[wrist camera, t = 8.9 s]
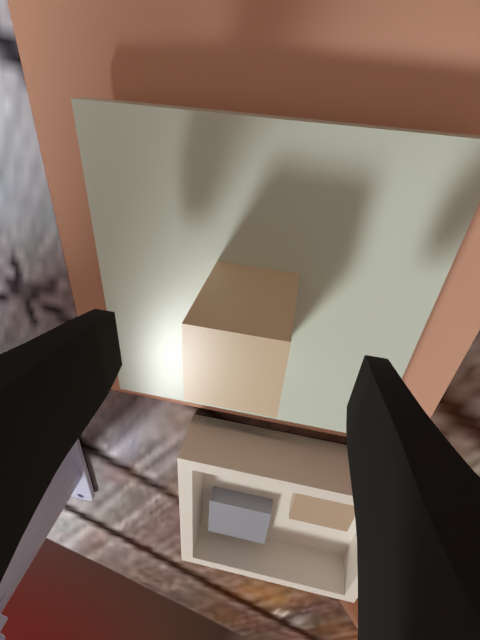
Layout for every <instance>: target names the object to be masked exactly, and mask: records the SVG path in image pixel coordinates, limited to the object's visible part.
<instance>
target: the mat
mask: <svg viewBox="0 0 480 640" xmlns="http://www.w3.org/2000/svg"><path fill="white" fill-rule="evenodd" d="M7 1H8V5H9V10H10V14H11V19H12V23H13V28H14V32H15V37H16V41H17V46H18V50H19V55H20V59H21V64H22V68H23V73H24V77H25V82H26V86H27V91H28V95H29V100H30V104H31V109H32V113H33V118H34V122H35V127H36V131H37V136H38V140H39V145H40V149H41V154H42V158H43V163H44V167H45V172H46V176H47V181H48V185H49V190H50V194H51V199H52V203H53V208H54V212H55V217H56V221H57V226H58V230H59V235H60V239H61V244H62V248H63V253H64V257H65V262H66V266H67V271H68V276H69V280H70V285H71V289H72V294H73V298H74V303H75V307H76V312H77V316H80V315H82V314H84V313H86V312H89V311H91V310H93V309H100V310H106V311H107V309H106V303H105V297H104V291H103V285H102V279H101V274H100V268H99V262H98V256H97V250H96V244H95V238H94V232H93V226H92V220H91V214H90V209H89V203H88V197H87V191H86V185H85V179H84V173H83V167H82V161H81V155H80V150H79V144H78V138H77V132H76V126H75V120H74V114H73V108H72V102H71V98H78V97H92V98H103V99H113V100H123V101H133V102H143V103H153V104H164V105H174V106H184V107H194V108H204V109H214V110H225V111H235V112H245V113H255V114H265V115H275V116H286V117H296V118H306V119H316V120H326V121H337V122H347V123H357V124H367V125H377V126H387V127H398V128H408V129H418V130H428V131H438V132H448V133H459V134H469V135H479V136H480V0H7ZM479 330H480V202H479V205H478V207H477V209H476V211H475V214H474V216H473V218H472V220H471V223H470V225H469V227H468V230H467V232H466V234H465V236H464V239H463V241H462V243H461V245H460V248H459V250H458V252H457V254H456V257H455V259H454V261H453V263H452V266H451V268H450V270H449V273H448V275H447V277H446V279H445V282H444V284H443V286H442V288H441V291H440V293H439V295H438V297H437V300H436V302H435V304H434V307H433V309H432V311H431V313H430V316H429V318H428V320H427V322H426V325H425V327H424V329H423V331H422V334H421V336H420V338H419V340H418V343H417V345H416V347H415V350H414V352H413V354H412V356H411V359H410V361H409V363H408V365H407V368H406V370H405V372H404V374H403V377H402V380H403V381H404V383H405V384H406V386H407V387H408V389H409V390H410V391H411V393H412V394H413V396H414V397H415V399H416V400H417V401H418V403H419V404H420V406H421V407H422V408H423V410H424V411H425V412H426V414H427V415H428V416H429V418H431V416H432V414H433V412H434V411H435V409H436V407H437V405H438V403H439V402H440V400H441V398H442V396H443V394H444V393H445V391H446V389H447V387H448V385H449V384H450V382H451V380H452V378H453V376H454V375H455V373H456V371H457V369H458V368H459V366H460V364H461V362H462V360H463V359H464V357H465V355H466V353H467V351H468V350H469V348H470V346H471V344H472V342H473V341H474V339H475V337H476V335H477V333H478V332H479ZM110 390H114V391H119V392H124V393H129V394H134V395H139V396H144V397H149V398H154V399H159V400H164V401H169V402H174V403H179V404H184V405H189V406H194V407H199V408H204V409H209V410H214V411H219V412H224V413H229V414H234V415H239V416H244V417H249V418H254V419H259V420H264V421H269V422H274V423H279V424H284V425H289V426H294V427H299V428H304V429H309V430H314V431H319V432H324V433H329V434H334V435H339V436H344V437H346V433H344V432H339V431H334V430H329V429H323V428H318V427H313V426H308V425H303V424H298V423H293V422H288V421H283V420H277V419H272V418H267V417H262V416H257V415H252V414H247V413H242V412H237V411H231V410H226V409H221V408H216V407H211V406H206V405H201V404H196V403H191V402H185V401H180V400H175V399H170V398H165V397H160V396H155V395H150V394H145V393H139V392H134V391H129V390H124V389H120V386H119V380H118V375H117V377H116V379H115V381H114V383H113V385H112V387H111V389H110Z"/></svg>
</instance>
